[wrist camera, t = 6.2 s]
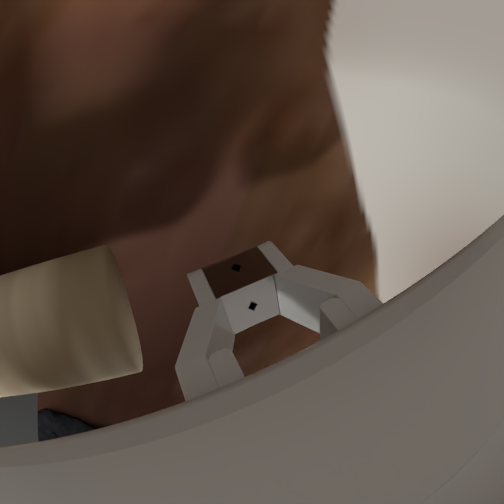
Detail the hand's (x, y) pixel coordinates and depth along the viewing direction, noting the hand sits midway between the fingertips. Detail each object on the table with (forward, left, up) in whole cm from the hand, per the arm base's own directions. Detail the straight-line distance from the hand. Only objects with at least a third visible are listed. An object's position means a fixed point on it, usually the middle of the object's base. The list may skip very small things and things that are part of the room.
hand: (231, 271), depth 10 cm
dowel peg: (0, +10, -1) cm, 10 cm away
